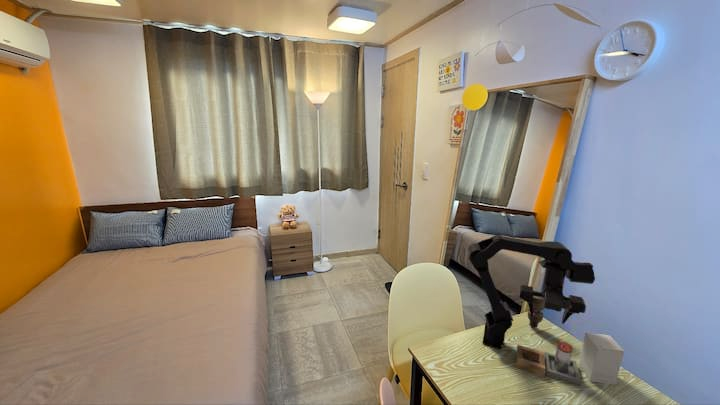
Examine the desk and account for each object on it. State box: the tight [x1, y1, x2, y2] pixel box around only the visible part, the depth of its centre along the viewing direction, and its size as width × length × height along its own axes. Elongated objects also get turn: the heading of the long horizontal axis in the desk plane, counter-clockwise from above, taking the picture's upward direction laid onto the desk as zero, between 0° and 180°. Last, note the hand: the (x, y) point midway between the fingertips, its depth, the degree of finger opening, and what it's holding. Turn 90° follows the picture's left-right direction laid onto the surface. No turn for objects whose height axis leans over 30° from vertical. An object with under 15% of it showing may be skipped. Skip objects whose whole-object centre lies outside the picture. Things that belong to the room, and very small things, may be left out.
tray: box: [543, 351, 581, 387], centre depth 96 cm, size 9×9×2 cm
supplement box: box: [578, 332, 625, 385], centre depth 93 cm, size 7×7×13 cm
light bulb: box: [527, 297, 546, 329], centre depth 114 cm, size 6×6×15 cm
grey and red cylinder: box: [554, 340, 574, 374], centre depth 94 cm, size 4×4×9 cm
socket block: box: [515, 344, 546, 377], centre depth 98 cm, size 8×8×3 cm
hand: (546, 319), depth 102 cm, fingers open, 9 cm apart
